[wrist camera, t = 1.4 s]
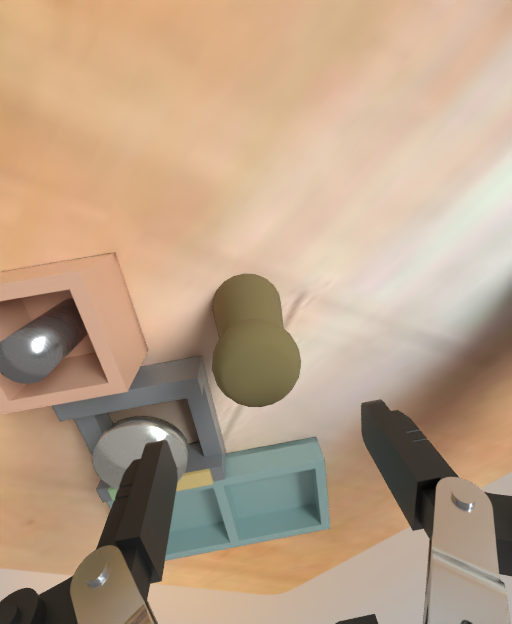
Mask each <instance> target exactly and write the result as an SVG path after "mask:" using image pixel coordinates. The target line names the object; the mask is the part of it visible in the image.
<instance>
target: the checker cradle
mask: <svg viewBox="0 0 512 624" xmlns="http://www.w3.org/2000/svg"><path fill="white" fill-rule="evenodd" d="M185 398H187V401H188V404H189V407H190V411H191V414H192V417H193V421H194V424H195V427H196V431H197V434H198V437H199V441H200V442H198V443H192V444H188V447H189V454H188V461H187V467H186V470H185V473H184V475H183V476H182V477H181V479H180V480H179V481H178V482H177V489H176V491H181V490H186V489H191V488H197V487H202V486H207V485H212V484H213V482H214V481H219V480H224V479H225V475H226V449H225V446H224V442H223V438H222V434H221V430H220V426H219V423H218V419H217V415H216V411H215V407H214V403H213V400H212V396H211V392H210V388H209V384H208V380H207V377H206V373H205V369H204V365H203V361H202V357H201V356H198V357H192V358H187V359H181V360H175V361H170V362H164V363H159V364H153V365H147V366H142V367H140V368H139V370H138V372H137V374H136V376H135V378H134V380H133V382H132V384H131V386H130V388H129V390H128V392H124V393H118V394H113V395H107V396H102V397H96V398H91V399H85V400H80V401H74V402H68V403H63V404H57V405H52V407H53V409H54V411H55V413H56V415H57V417H58V419H59V420H60V421H64V420H70V419H74V420H75V422H76V424H77V426H78V428H79V430H80V432H81V434H82V436H83V438H84V440H85V442H86V444H87V446H88V448H89V450H90V452H91V454H92V456H93V452H94V450H95V447H96V445H97V444H98V442H99V440H100V438H101V436H102V434H103V433H104V431H105V430H106V429H107V428H108V427H109V426H111V425H112V424H113V423H112V421H111V418H110V416H109V414H108V412H114V411H119V410H125V409H130V408H136V407H141V406H147V405H152V404H158V403H163V402H169V401H174V400H179V399H185ZM96 490H97V492H98V494H99V496H100V498H101V500H102V502H108V501H113V502H114V501H115V496H116V493H117V491H118V489H115V488H113V487H111V486H110V485H108V484H107V483H105V482H104V481H103V480H102V479H101V480H100V482H99V485H98V487H97V489H96Z"/></svg>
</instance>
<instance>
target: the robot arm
mask: <svg viewBox="0 0 512 624" xmlns="http://www.w3.org/2000/svg"><path fill="white" fill-rule="evenodd" d="M361 425H362V436H363V440H364V443H365V445H366V447H367V449H368V451H369V453H370V455H371V456H372V458H373V460H374V462H375V463H376V465H377V467H378V469H379V471H380V472H381V474H382V476H383V478H384V480H385V481H386V483H387V485H388V487H389V489H390V490H391V492H392V494H393V496H394V498H395V499H396V501H397V503H398V505H399V507H400V508H401V510H402V512H403V514H404V516H405V517H406V519H407V521H408V523H409V525H410V526H411V528H412V530H413V531H414V530H419V529H424V530H425V532H426V533H427V535H428V537H429V538H430V539H429V551H428V564H427V577H426V591H425V604H424V615H423V624H510V615H509V606H508V597H507V591H506V587H505V585H504V583H503V582H501V581H500V576H499V574H502V575H508V576H512V496H506V495H497V494H491V493H487V492H483V491H482V490H481V489H480V488H479V487H478V486H476V485H475V484H473V483H472V482H470V481H468V480H465V479H462V478H459V477H458V475H457V474H456V473H455V472H454V471H453V470H452V468H451V467H450V466H449V465H448V464H447V462H446V461H445V460H444V459H443V457H442V456H441V455H440V454H439V453H438V451H437V450H436V449H435V448H434V447H433V445H432V444H431V443H430V442H429V440H427V439H426V437H425V436H424V434H423V433H422V432H421V431H419V428H418V427H417V426H416V425H415V423H414V422H413V421H412V420H411V419H410V418H409V417H407V416H406V415H404V414H403V413H401V412H400V411H398V410H396V411H390V410H389V408H388V407H387V406H386V405H385V403H384V402H383V401H382V400H375V401H370V402H364V403H362V405H361ZM177 482H178V473H177V467H176V464H175V461H174V458H173V455H172V452H171V449H170V447H169V444H168V442H167V440H161V441H156V442H150V443H147V444H146V445H145V447H144V450H143V453H142V456H141V459H136V460H133V461H132V463H131V464H130V465H129V467H128V468H127V469H126V471H125V472H124V474H123V477H122V480H121V482H120V485H119V489H118V491H117V493H116V496H115V501H114V502H113V504H112V507H111V510H110V513H109V516H108V518H107V521H106V524H105V527H104V529H103V532H102V535H101V538H100V541H99V543H98V546H97V548H96V550H95V551H94V552H92V553H91V554H90V555H88V556H87V557H86V558H85V559H84V560H83V562H82V563H81V564H80V565H79V567H78V568H77V570H76V572H75V574H74V575H73V576H72V577H70V578H69V579H67V580H65V581H63V582H62V583H60V584H58V585H56V586H54V587H52V588H51V589H49V590H47V591H45V592H43V593H42V594H40V595H38V594H37V593H36V591H34V590H33V589H31V588H24V589H20V590H17V591H15V592H13V593H12V594H10V595H8V596H7V597H6V598H4V599H3V600H2V601H1V602H0V624H158V622H157V620H156V618H155V616H154V613H153V611H152V609H151V607H150V605H149V603H148V601H147V597H148V592H149V586H150V583H155V582H160V581H162V575H163V569H164V562H165V556H166V550H167V544H168V538H169V532H170V526H171V520H172V513H173V507H174V501H175V495H176V489H177ZM336 624H378V622H377V619H376V616H375V614H372V615H367V616H363V617H358V618H353V619H349V620H344V621H339V622H337V623H336Z"/></svg>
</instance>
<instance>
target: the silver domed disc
mask: <svg viewBox="0 0 512 624" xmlns="http://www.w3.org/2000/svg"><path fill="white" fill-rule="evenodd" d="M161 440H167V442H168V444H169V447H170V449H171V452H172V455H173V458H174V461H175V464H176V467H177V473H178V481H179V480H180V479H181V477H182V476H183V475H184V473H185V470H186V467H187V461H188V454H189V447H188V443H187V440H186V438H185V436H184V435H183V434H182V432H181V431H180V430H179V429H178V428H177V427H175V426H174V425H172V424H171V423H169V422H167V421H164V420H162V419H159V418H155V417H148V416H135V417H129V418H125V419H122V420H119V421H117V422H115V423H114V424H112V425H111V426H109V427H108V428H107V429H106V430H105V431H104V433H103V434H102V436H101V438H100V440H99V442H98V444H97V445H96V447H95V450H94V452H93V466H94V469H95V471H96V473H97V474H98V476H99V477H100V478H101V479H102V480H103V481H104V482H105V483H107V484H108V485H110V486H111V487H113V488H115V489H119V485H120V482H121V480H122V477H123V474H124V472H125V471H126V469H127V468H128V467H129V465H130V464H131V463H132V461H133V460H136V459H141V456H142V453H143V450H144V447H145V445H146V444H147V443H150V442H156V441H161Z"/></svg>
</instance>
